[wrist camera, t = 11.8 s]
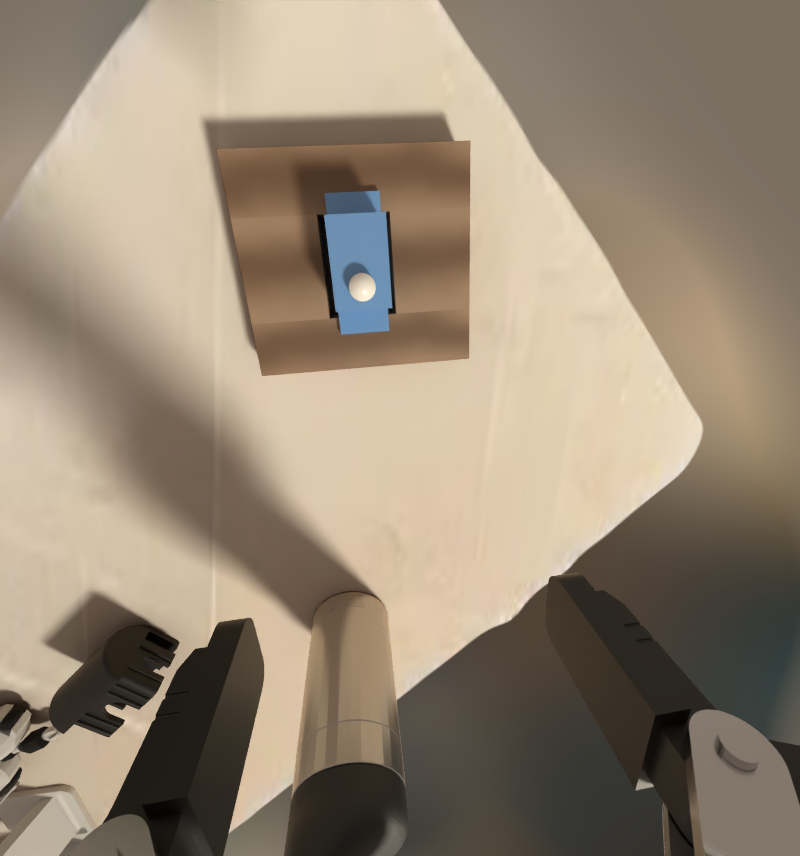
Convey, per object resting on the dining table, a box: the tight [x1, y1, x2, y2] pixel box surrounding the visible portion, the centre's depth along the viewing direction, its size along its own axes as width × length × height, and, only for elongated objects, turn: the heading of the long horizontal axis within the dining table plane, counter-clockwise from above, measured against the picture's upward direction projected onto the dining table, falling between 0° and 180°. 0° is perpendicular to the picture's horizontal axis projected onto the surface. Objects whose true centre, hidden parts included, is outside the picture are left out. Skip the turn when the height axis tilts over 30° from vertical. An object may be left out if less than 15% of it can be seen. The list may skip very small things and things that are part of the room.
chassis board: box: [217, 141, 470, 376], centre depth 31 cm, size 16×18×3 cm
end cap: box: [49, 625, 179, 737], centre depth 41 cm, size 10×7×7 cm
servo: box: [324, 191, 392, 335], centre depth 28 cm, size 10×4×8 cm, turn 4°
